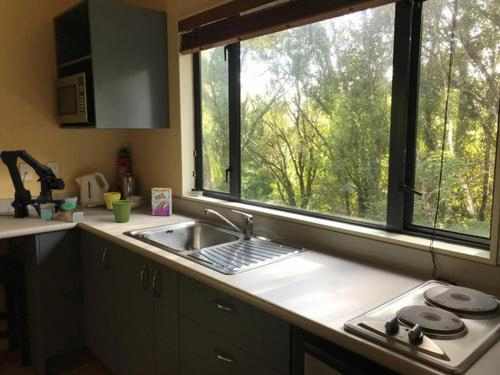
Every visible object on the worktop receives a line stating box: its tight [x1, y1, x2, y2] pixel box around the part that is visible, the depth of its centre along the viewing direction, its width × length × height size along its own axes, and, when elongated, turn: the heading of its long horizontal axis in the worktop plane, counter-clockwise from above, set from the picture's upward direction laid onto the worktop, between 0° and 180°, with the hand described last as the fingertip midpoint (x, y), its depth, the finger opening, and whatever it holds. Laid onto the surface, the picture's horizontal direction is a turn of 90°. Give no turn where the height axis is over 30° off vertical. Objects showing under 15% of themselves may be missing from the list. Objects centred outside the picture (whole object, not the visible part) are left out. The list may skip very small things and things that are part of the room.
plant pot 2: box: [111, 199, 134, 223], centre depth 237 cm, size 12×12×11 cm
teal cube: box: [40, 208, 55, 220], centre depth 245 cm, size 5×5×5 cm
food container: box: [58, 195, 78, 215], centre depth 256 cm, size 12×6×10 cm, turn 143°
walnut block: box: [52, 211, 72, 222], centre depth 241 cm, size 7×7×4 cm
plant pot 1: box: [103, 192, 121, 210], centre depth 276 cm, size 10×10×10 cm
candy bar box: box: [150, 187, 173, 217], centre depth 254 cm, size 11×5×16 cm, turn 84°
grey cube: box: [72, 211, 85, 224], centre depth 235 cm, size 5×5×5 cm
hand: (47, 216), depth 245 cm, fingers open, 9 cm apart
